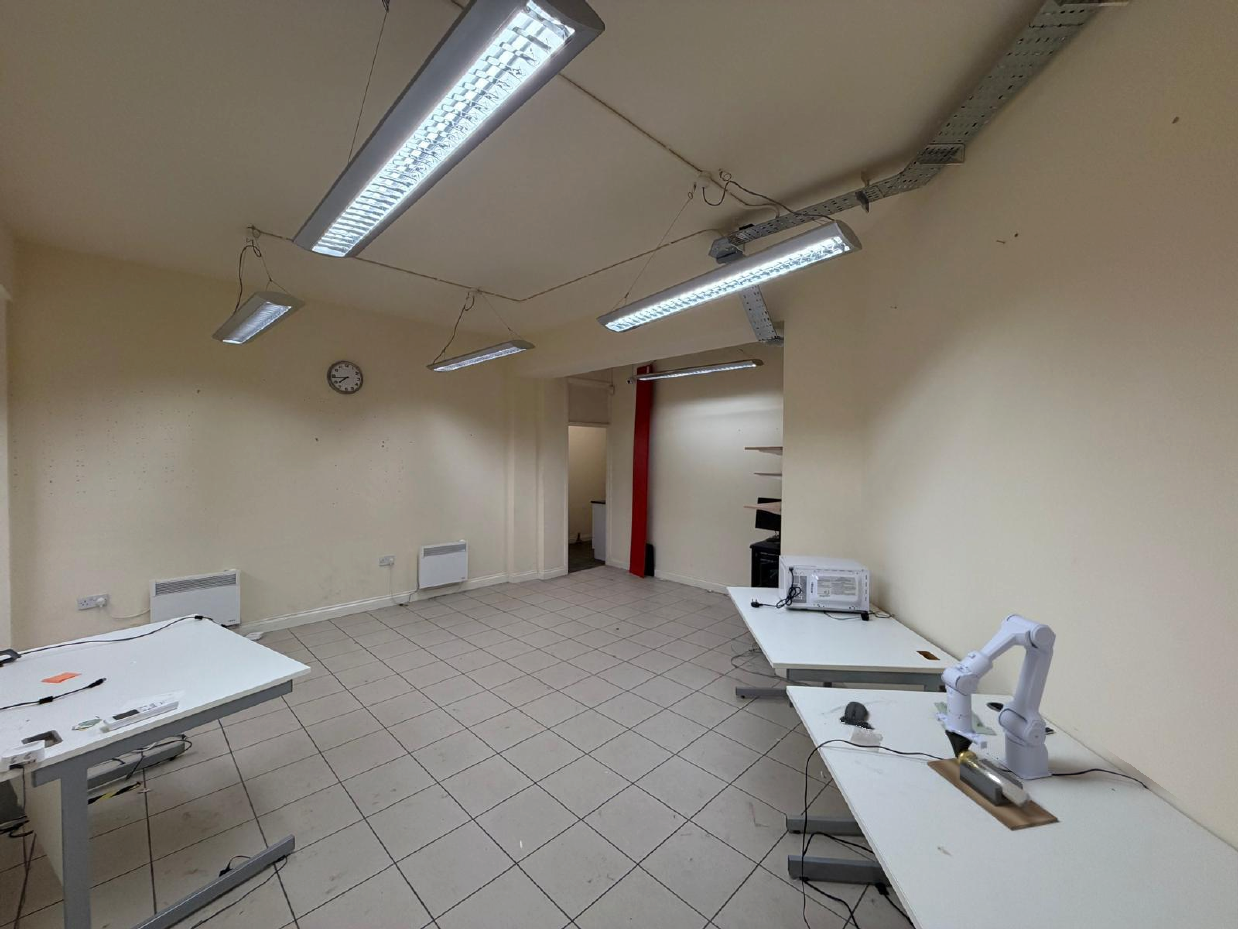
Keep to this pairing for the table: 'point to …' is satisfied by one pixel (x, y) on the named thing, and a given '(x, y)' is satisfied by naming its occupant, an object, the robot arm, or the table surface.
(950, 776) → the base board
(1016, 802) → the shaft
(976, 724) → the metal bracket
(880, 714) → the table surface
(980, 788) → the bearing block
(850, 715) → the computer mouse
